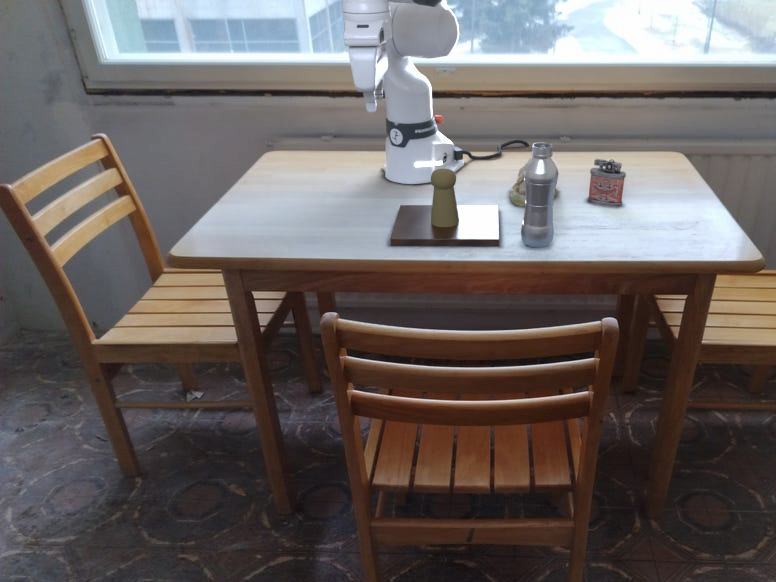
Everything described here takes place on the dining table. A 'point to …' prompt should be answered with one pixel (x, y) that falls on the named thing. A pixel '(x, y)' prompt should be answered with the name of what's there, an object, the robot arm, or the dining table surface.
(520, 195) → the ceramic model
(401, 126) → the robot arm
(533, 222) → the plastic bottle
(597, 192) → the lighter
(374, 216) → the dining table surface
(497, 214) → the walnut board
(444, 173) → the olive tapered cylinder
